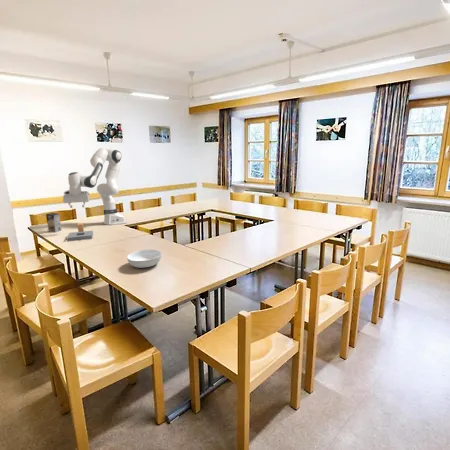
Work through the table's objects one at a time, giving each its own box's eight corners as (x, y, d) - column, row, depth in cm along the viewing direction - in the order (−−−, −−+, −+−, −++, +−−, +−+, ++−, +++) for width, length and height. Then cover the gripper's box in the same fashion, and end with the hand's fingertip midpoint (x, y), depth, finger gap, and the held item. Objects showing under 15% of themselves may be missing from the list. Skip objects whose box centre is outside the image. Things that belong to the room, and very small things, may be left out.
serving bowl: (135, 258, 199) (134, 248, 198) (166, 259, 197) (165, 249, 196) (122, 271, 179) (121, 260, 178) (156, 272, 177) (155, 261, 176)
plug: (84, 231, 267) (83, 222, 265) (83, 233, 263) (82, 224, 261) (79, 232, 266) (78, 223, 264) (78, 233, 261) (77, 224, 259)
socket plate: (93, 233, 259) (92, 230, 259) (92, 238, 245) (91, 235, 244) (70, 236, 253) (69, 232, 253) (67, 241, 239) (67, 237, 238)
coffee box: (48, 231, 269) (45, 214, 265) (54, 229, 275) (51, 212, 271) (55, 232, 266) (53, 214, 262) (61, 230, 272) (59, 213, 268)
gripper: (89, 190, 262) (90, 206, 265) (63, 191, 256) (65, 207, 259) (88, 191, 256) (90, 207, 259) (61, 192, 250) (63, 208, 253)
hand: (77, 207), depth 259 cm, fingers open, 8 cm apart
